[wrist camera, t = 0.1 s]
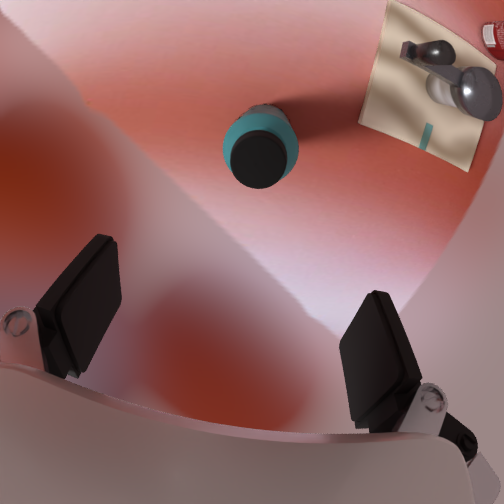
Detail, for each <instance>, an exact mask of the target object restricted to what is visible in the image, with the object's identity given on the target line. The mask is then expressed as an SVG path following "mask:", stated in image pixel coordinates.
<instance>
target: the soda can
mask: <svg viewBox="0 0 504 504" xmlns="http://www.w3.org/2000/svg"><path fill="white" fill-rule="evenodd" d="M481 35H482V39H483V42H484V45H485V47H486V49H487V50H488V52H489V53H490V54H491V55H492V56H493V57H494V58H496V59H498V60H504V21H495V22H487V23H485V24H483V26H482V29H481Z"/></svg>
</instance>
